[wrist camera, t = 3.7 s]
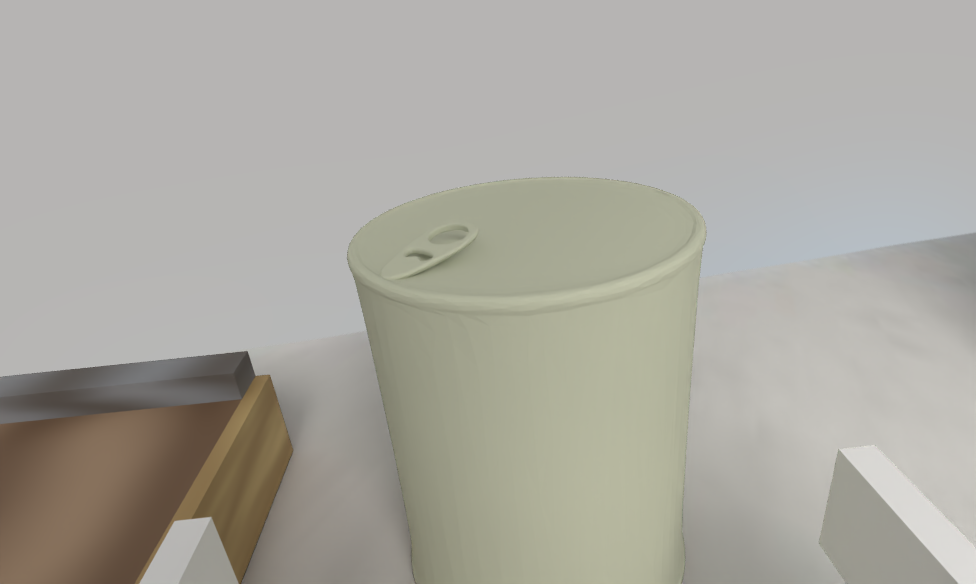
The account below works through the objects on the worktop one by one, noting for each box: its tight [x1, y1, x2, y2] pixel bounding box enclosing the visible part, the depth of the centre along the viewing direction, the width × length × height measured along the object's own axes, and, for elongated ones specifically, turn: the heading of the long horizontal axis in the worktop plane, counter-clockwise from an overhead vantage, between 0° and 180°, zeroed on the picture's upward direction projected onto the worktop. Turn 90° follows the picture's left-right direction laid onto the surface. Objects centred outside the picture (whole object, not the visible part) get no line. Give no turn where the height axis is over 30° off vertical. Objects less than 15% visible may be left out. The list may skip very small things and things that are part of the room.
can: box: [347, 177, 706, 584], centre depth 17 cm, size 9×9×12 cm
